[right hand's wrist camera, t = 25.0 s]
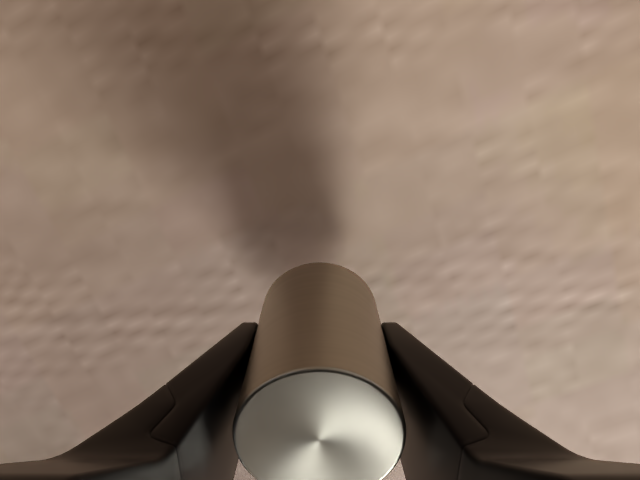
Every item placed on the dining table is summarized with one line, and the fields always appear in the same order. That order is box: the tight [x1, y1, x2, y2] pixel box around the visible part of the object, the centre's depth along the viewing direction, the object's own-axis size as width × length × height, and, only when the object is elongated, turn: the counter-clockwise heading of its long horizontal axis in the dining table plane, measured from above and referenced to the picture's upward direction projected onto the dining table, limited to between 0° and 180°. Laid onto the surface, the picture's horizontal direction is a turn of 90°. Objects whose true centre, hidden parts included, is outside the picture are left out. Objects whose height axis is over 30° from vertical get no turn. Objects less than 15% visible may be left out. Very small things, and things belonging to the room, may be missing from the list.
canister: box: [232, 263, 406, 480], centre depth 10 cm, size 3×3×5 cm
